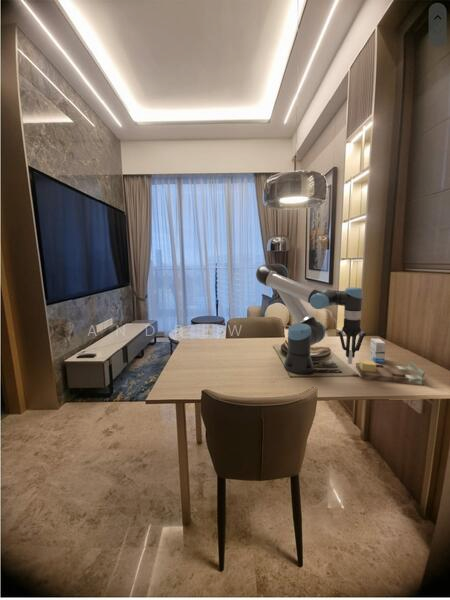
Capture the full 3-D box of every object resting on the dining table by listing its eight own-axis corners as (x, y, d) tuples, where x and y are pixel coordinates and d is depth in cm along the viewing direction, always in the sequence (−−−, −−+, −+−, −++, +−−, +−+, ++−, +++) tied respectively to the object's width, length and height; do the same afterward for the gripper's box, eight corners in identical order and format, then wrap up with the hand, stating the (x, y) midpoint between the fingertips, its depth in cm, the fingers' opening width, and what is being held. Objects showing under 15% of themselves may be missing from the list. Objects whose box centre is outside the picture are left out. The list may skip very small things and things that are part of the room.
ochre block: (362, 370, 123) (362, 363, 123) (359, 366, 128) (359, 360, 127) (375, 371, 122) (376, 364, 121) (372, 367, 126) (372, 360, 126)
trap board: (363, 379, 119) (364, 367, 118) (355, 367, 133) (356, 356, 132) (423, 384, 113) (424, 372, 112) (409, 371, 126) (410, 360, 126)
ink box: (384, 363, 137) (386, 343, 135) (374, 362, 138) (376, 342, 136) (378, 357, 145) (379, 338, 144) (369, 357, 146) (370, 338, 145)
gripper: (339, 319, 121) (337, 365, 125) (369, 320, 118) (365, 367, 121) (336, 316, 128) (334, 359, 132) (364, 317, 125) (361, 361, 128)
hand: (349, 363), depth 126 cm, fingers closed
